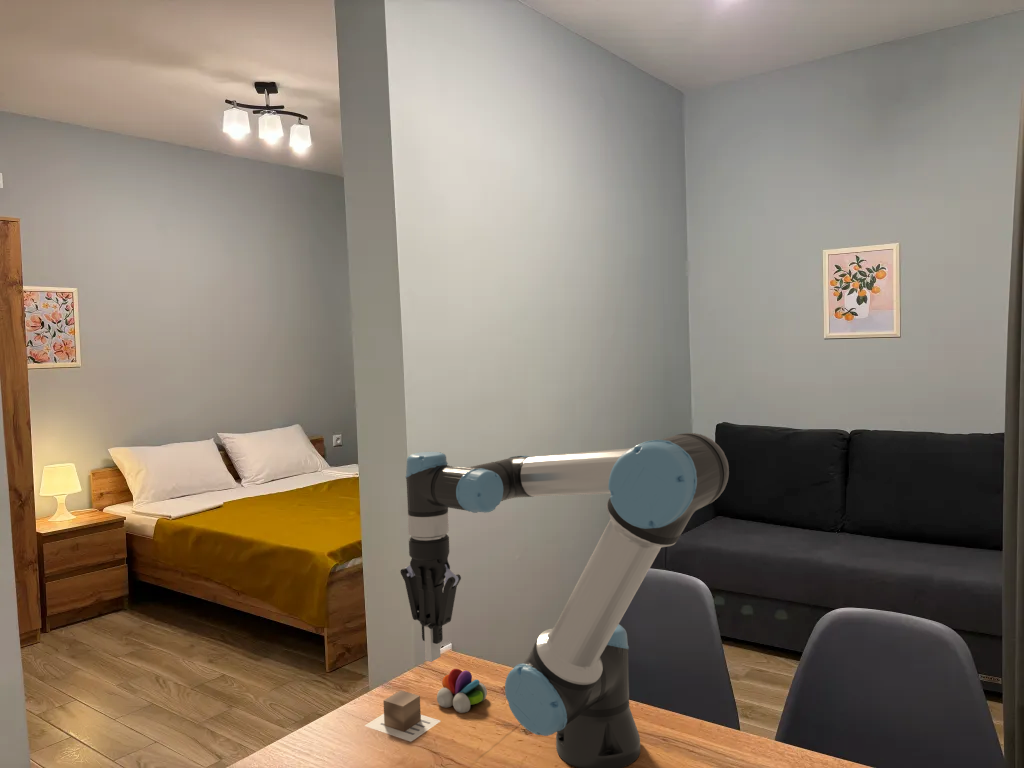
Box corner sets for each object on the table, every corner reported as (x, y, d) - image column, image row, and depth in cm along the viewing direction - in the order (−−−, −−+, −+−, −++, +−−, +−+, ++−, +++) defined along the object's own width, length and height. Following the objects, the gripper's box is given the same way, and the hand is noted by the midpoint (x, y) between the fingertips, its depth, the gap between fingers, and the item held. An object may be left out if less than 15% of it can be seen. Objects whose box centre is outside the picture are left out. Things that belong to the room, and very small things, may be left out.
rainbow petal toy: (457, 690, 162) (456, 657, 161) (493, 702, 156) (492, 667, 156) (431, 706, 155) (429, 672, 155) (467, 719, 149) (466, 683, 149)
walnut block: (420, 720, 148) (419, 695, 148) (403, 732, 144) (402, 706, 144) (401, 714, 151) (400, 690, 151) (384, 725, 147) (383, 700, 147)
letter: (441, 722, 148) (441, 720, 148) (411, 743, 140) (411, 741, 140) (395, 708, 155) (395, 706, 155) (364, 727, 147) (364, 725, 147)
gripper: (468, 534, 141) (472, 658, 142) (415, 527, 148) (419, 644, 149) (443, 544, 134) (448, 673, 136) (389, 535, 141) (393, 658, 143)
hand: (433, 658), depth 142 cm, fingers closed
